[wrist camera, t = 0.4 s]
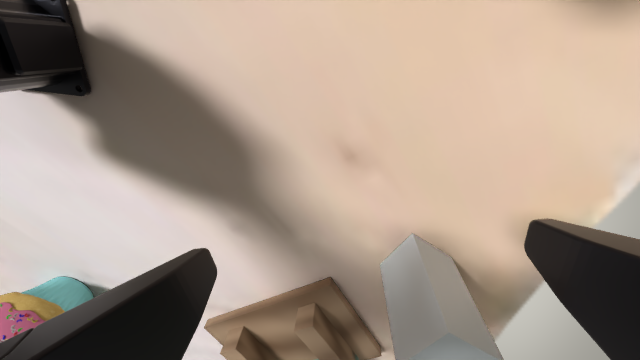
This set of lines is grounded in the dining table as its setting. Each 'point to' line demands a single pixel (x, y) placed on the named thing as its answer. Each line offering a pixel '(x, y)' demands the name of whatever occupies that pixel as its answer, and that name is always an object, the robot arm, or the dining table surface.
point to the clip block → (432, 307)
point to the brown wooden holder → (296, 328)
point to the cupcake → (39, 305)
